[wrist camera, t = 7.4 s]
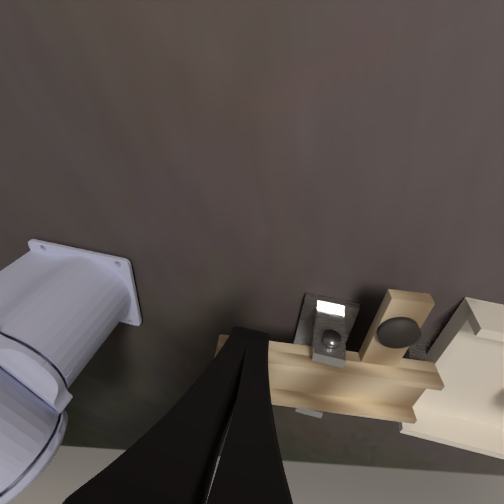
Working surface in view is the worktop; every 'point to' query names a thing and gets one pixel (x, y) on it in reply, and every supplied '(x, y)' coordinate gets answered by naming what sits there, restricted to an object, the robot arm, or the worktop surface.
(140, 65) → the worktop surface
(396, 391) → the lever
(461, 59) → the worktop surface
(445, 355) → the dish
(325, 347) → the pivot base
